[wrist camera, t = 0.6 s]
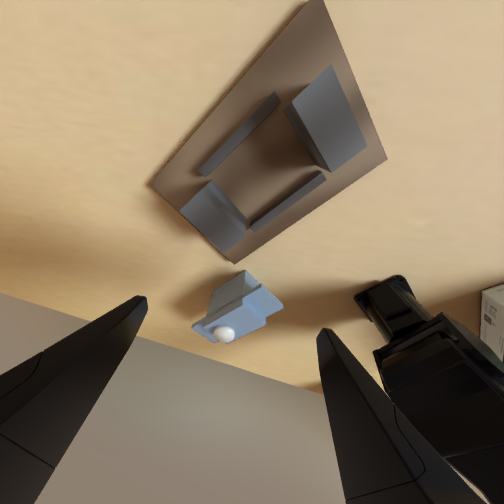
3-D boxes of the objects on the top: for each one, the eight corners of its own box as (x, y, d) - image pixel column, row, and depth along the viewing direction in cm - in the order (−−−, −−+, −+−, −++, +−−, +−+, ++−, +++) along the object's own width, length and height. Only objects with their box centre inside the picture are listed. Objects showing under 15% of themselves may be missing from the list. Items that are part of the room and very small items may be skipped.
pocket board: (381, 158, 17) (425, 165, 12) (235, 260, 23) (229, 288, 19) (314, -1, 12) (347, -82, 8) (154, 182, 18) (121, 196, 14)
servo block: (279, 278, 25) (285, 320, 19) (220, 312, 29) (211, 355, 23) (260, 259, 23) (261, 298, 17) (201, 298, 27) (187, 340, 21)
